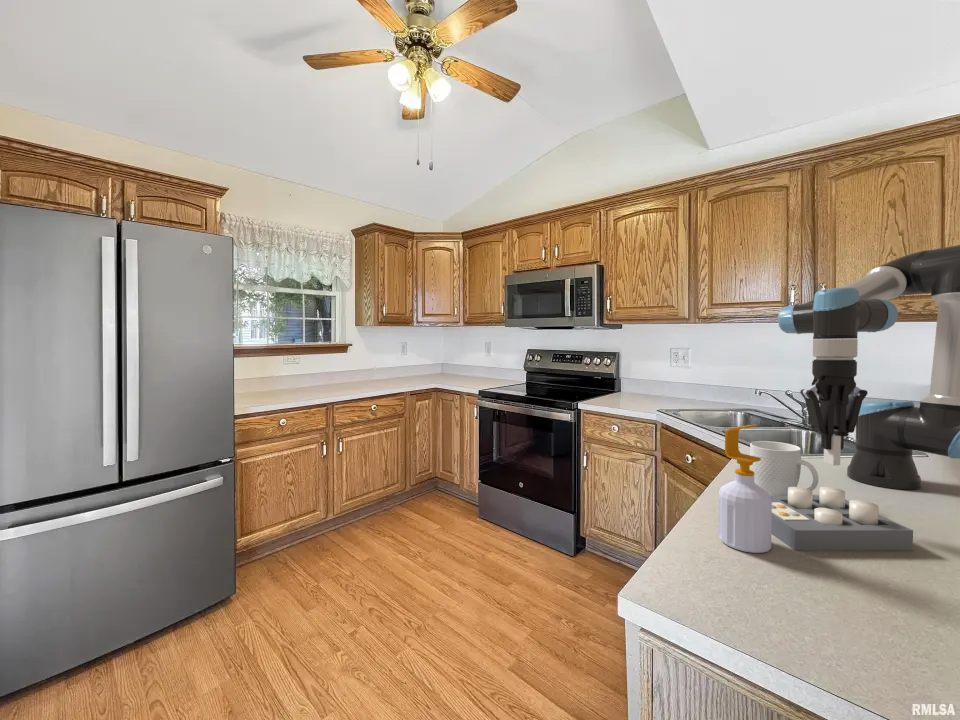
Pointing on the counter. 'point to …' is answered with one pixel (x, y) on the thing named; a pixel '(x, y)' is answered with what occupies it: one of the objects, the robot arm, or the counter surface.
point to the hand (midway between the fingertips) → (831, 463)
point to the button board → (835, 530)
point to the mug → (778, 467)
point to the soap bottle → (744, 503)
